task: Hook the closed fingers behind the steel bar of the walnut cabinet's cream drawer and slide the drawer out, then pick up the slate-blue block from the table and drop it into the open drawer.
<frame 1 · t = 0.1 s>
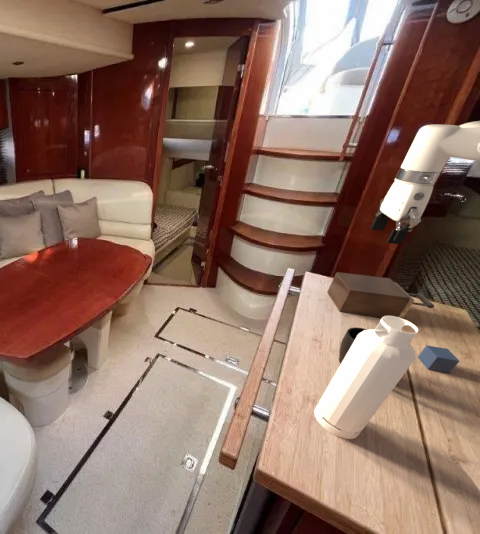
hand: (384, 236, 88), 26 cm above the table, tool pointing down, fingers open, 9 cm apart
drawer: (385, 297, 99), point 4 cm above the table, slide at 0.5 cm
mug: (354, 370, 79), on the table
cabinet: (359, 305, 103), on the table
bottle: (335, 421, 68), on the table
block: (433, 364, 80), on the table
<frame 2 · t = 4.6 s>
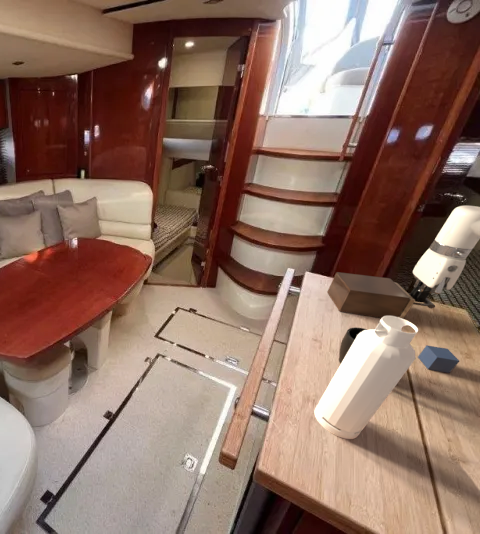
hand: (415, 300, 97), 5 cm above the table, tool pointing down, fingers closed
drawer: (386, 297, 99), point 4 cm above the table, slide at 0.7 cm, touching gripper
everything else where it was.
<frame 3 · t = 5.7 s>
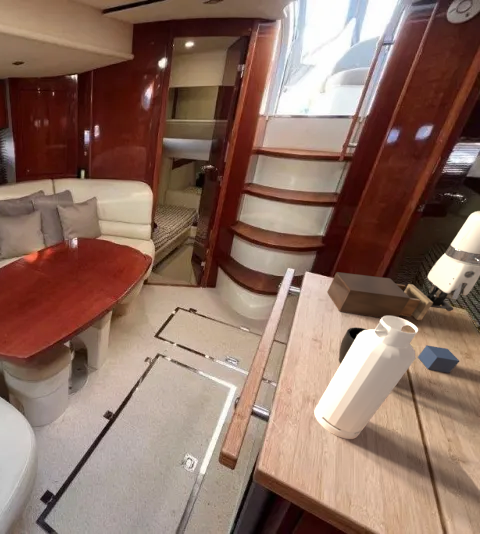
hand: (430, 305, 96), 4 cm above the table, tool pointing down, fingers closed
drawer: (402, 300, 98), point 4 cm above the table, slide at 5.0 cm, touching gripper
everything else where it was.
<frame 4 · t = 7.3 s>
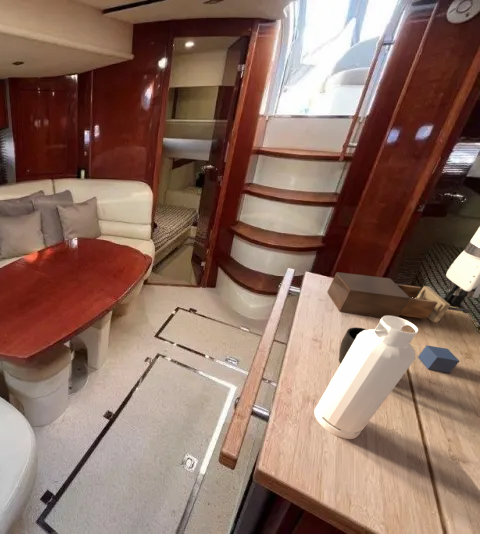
hand: (449, 304, 94), 5 cm above the table, tool pointing down, fingers closed
drawer: (418, 302, 97), point 4 cm above the table, slide at 9.0 cm
everything else where it was.
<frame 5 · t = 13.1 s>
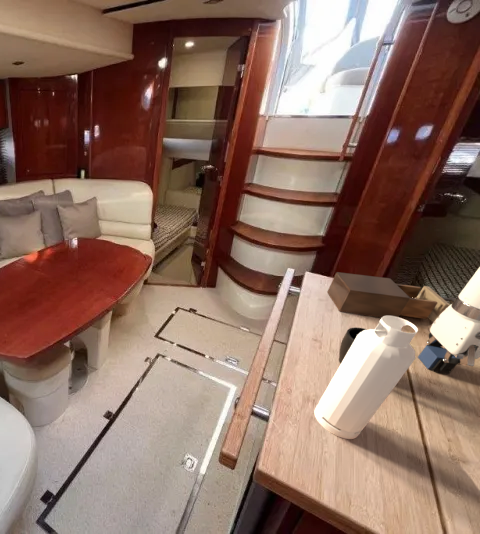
hand: (433, 363, 80), 0 cm above the table, tool pointing down, fingers closed on block, 4 cm apart
block: (433, 364, 80), on the table, touching gripper
everything else where it was.
when the fingers open (8 cm above the table, at t = 20.6 s): block stays where it is, resting on drawer.
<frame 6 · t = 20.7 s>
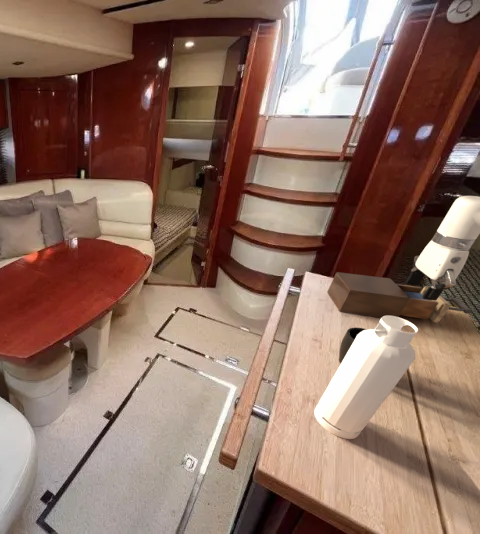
hand: (420, 291, 95), 8 cm above the table, tool pointing down, fingers open, 8 cm apart
drawer: (419, 302, 97), point 4 cm above the table, slide at 9.2 cm, touching block
block: (409, 307, 98), point 2 cm above the table, touching drawer
everything else where it was.
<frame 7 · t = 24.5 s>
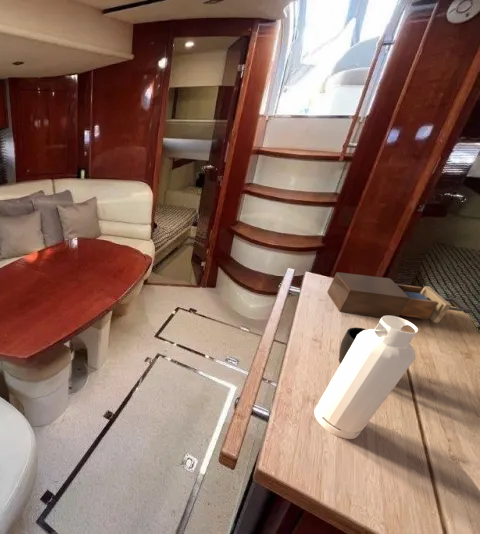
nothing on the table moved.
at the end: drawer slide at 9.2 cm; block inside the target area in the drawer (0.7 cm from its centre), point 2.0 cm above the cabinet's base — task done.
